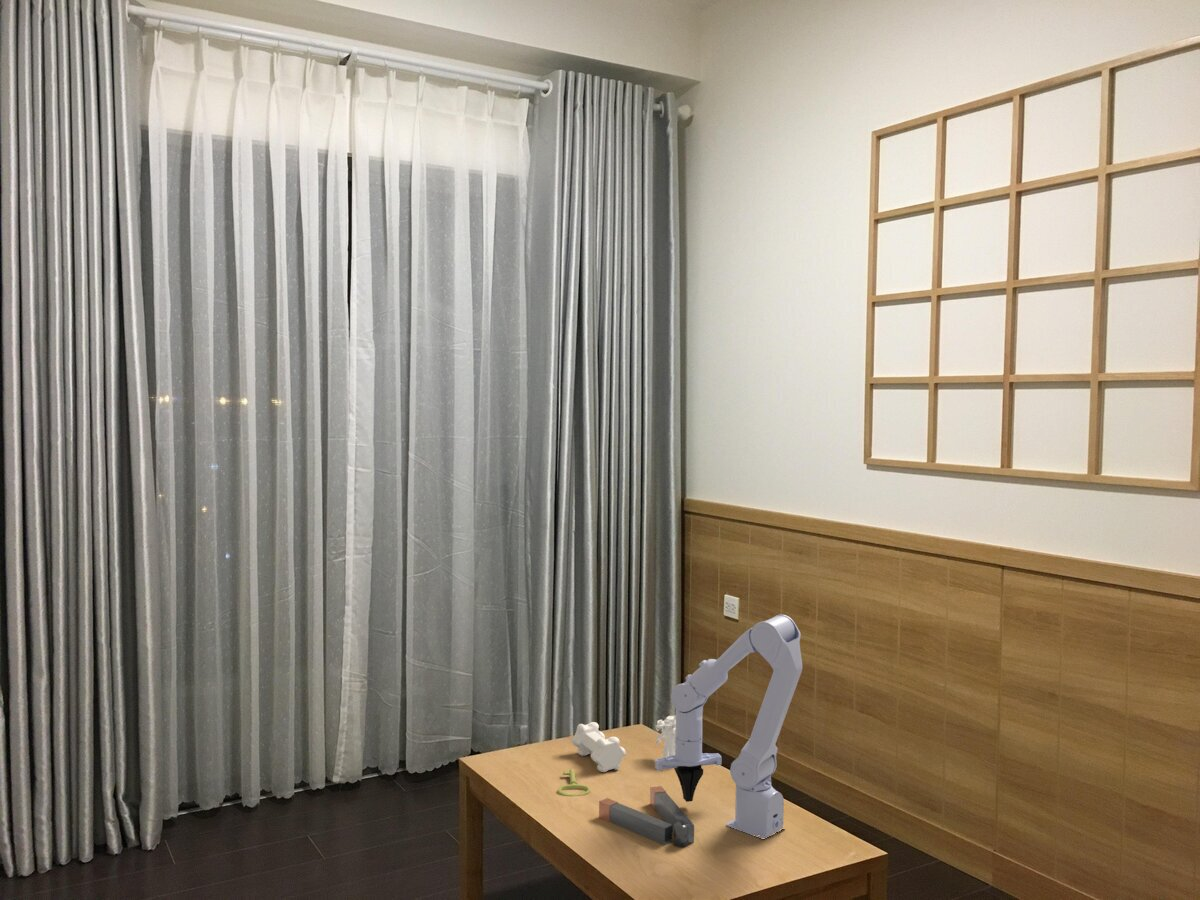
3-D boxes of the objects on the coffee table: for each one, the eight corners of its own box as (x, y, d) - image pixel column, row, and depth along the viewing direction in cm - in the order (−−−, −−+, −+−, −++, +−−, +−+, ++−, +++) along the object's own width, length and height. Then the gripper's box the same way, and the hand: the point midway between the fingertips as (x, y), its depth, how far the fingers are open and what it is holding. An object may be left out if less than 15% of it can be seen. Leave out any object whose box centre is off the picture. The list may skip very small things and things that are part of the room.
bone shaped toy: (570, 756, 240) (568, 724, 239) (602, 748, 243) (599, 717, 243) (596, 777, 226) (593, 744, 225) (629, 768, 230) (626, 735, 229)
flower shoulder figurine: (687, 765, 233) (687, 716, 232) (675, 768, 230) (675, 719, 230) (662, 754, 240) (663, 706, 239) (650, 757, 237) (651, 709, 237)
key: (573, 777, 226) (573, 768, 226) (593, 796, 214) (593, 787, 214) (544, 781, 223) (544, 772, 223) (563, 801, 212) (563, 792, 212)
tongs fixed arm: (672, 842, 191) (672, 824, 191) (664, 846, 189) (664, 828, 189) (607, 814, 204) (607, 797, 204) (599, 818, 202) (599, 801, 202)
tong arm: (696, 845, 189) (697, 826, 189) (676, 847, 188) (677, 828, 188) (661, 802, 210) (661, 785, 210) (642, 804, 209) (643, 787, 209)
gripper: (713, 728, 213) (712, 789, 213) (650, 733, 209) (649, 795, 209) (725, 739, 206) (724, 802, 206) (661, 745, 202) (660, 808, 202)
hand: (687, 799), depth 207 cm, fingers closed
